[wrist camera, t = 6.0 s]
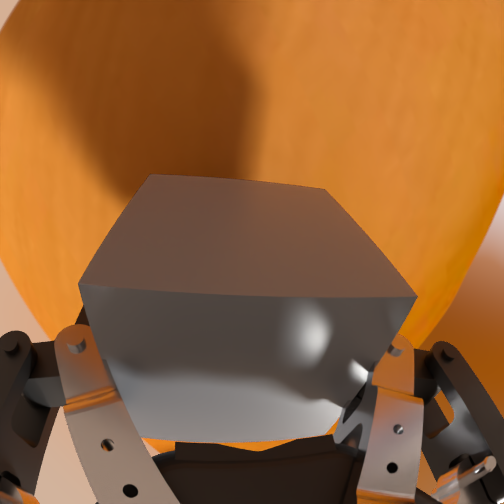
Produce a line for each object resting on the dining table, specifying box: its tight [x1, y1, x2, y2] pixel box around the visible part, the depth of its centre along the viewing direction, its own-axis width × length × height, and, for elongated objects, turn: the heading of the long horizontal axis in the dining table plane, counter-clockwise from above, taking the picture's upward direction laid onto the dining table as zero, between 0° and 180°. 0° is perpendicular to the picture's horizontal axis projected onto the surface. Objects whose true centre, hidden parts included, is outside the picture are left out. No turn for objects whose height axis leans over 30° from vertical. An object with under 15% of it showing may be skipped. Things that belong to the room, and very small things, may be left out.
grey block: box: [78, 174, 418, 443], centre depth 9 cm, size 7×7×7 cm
